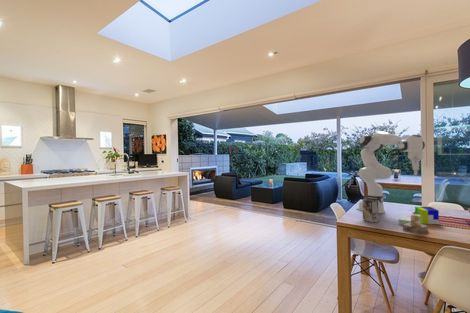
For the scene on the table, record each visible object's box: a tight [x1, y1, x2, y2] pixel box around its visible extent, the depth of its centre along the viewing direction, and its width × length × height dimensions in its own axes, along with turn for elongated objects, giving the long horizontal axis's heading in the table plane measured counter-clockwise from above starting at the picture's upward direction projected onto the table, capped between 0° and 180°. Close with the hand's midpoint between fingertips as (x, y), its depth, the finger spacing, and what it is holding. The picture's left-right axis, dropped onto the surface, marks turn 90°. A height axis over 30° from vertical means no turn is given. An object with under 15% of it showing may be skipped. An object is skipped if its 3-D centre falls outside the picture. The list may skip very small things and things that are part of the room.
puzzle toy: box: [414, 206, 440, 225], centre depth 174 cm, size 10×10×10 cm
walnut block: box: [402, 222, 429, 235], centre depth 158 cm, size 10×10×4 cm
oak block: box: [410, 213, 420, 227], centre depth 158 cm, size 5×5×7 cm
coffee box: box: [362, 198, 379, 224], centre depth 181 cm, size 9×6×16 cm
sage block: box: [398, 216, 422, 226], centre depth 170 cm, size 10×10×4 cm
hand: (415, 174), depth 175 cm, fingers open, 8 cm apart
